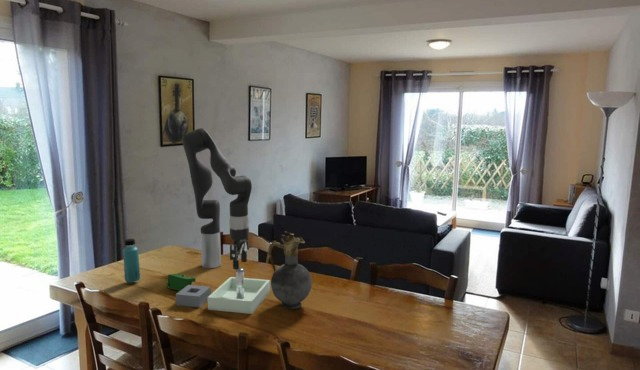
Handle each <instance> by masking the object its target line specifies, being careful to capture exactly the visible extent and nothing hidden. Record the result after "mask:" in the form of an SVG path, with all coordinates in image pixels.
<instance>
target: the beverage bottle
mask: <svg viewBox="0 0 640 370" xmlns="http://www.w3.org/2000/svg"><path fill="white" fill-rule="evenodd" d="M124 245H125V246H126V247H124V248H123V249H122V254H123V255H122V256H123V257H122V258H123V270H124V275H123V276H124V281H125V282H127V283H134V282H138V281H140V279H141V269H140V256H139V248H138V247H137V246H136V240H135V239H134V238H128V239H125V240H124Z"/></svg>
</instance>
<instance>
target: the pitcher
mask: <svg viewBox="0 0 640 370" xmlns="http://www.w3.org/2000/svg"><path fill="white" fill-rule="evenodd" d="M285 233H286V234H287V235H285V234H280V236H282V237H281V242H282V243H280V242H277V241H275V242H272V243H270V244H269V246H268V252H267V253H268V258H269V261H270V263H271V265H272V269H273V271H274V272H273V273H272V276H271V279H270V288H271V290H272V293H273V296H274V297H275V298H276V299H277V300H278V301H279V302H281V306H282V307H283V308H284V309H285V310H297V309H299V308H301V307H302V302H303V301H305V299H307V298H308V296H309V295H310V294H311V290H312V285H313V280H312V276H311V274H310V271H309V270H308V269H307V268H306V266H303V264H300V263H299V260H298V259H299V258H298V257H299V250H298V249H299V244H305V243H306V241H305V240H304V239H303V237H297V236H296V237H295V236H294V233H292V232H288V231H285ZM274 247H277V248H279V249H282V250H283V255H284V256H285V257H284V263H283V264H281V265H280V266H278V267H277V268H276V266H275V264H274V261H273V255H272V254H273V253H272V250H273V248H274Z"/></svg>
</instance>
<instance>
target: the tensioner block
mask: <svg viewBox="0 0 640 370" xmlns="http://www.w3.org/2000/svg"><path fill="white" fill-rule="evenodd" d="M211 294H212V286H205V285H197V284H196V285H195V284H194V285H193V284H191V285H187V286H186V287H185V288H183V289H182V290H181V291H178V292H177V293H175V305H176V306H182V307H192V308H201V307H202V306H203V305H204V304H205V303H206V302H208V296H209V295H211Z"/></svg>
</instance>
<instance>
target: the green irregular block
mask: <svg viewBox="0 0 640 370" xmlns="http://www.w3.org/2000/svg"><path fill="white" fill-rule="evenodd" d="M196 279H197V278H196V277H193V276H185V275H184V274H181V273H171V274H170V273H169V274H168V275H167V282H166V287H167V288H168V289H171V290H173V291H174V290H175V291H178V292H179V291H181V290H182V289H183V288H185V287H186V286H187V285H193V283H194V282H196Z"/></svg>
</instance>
